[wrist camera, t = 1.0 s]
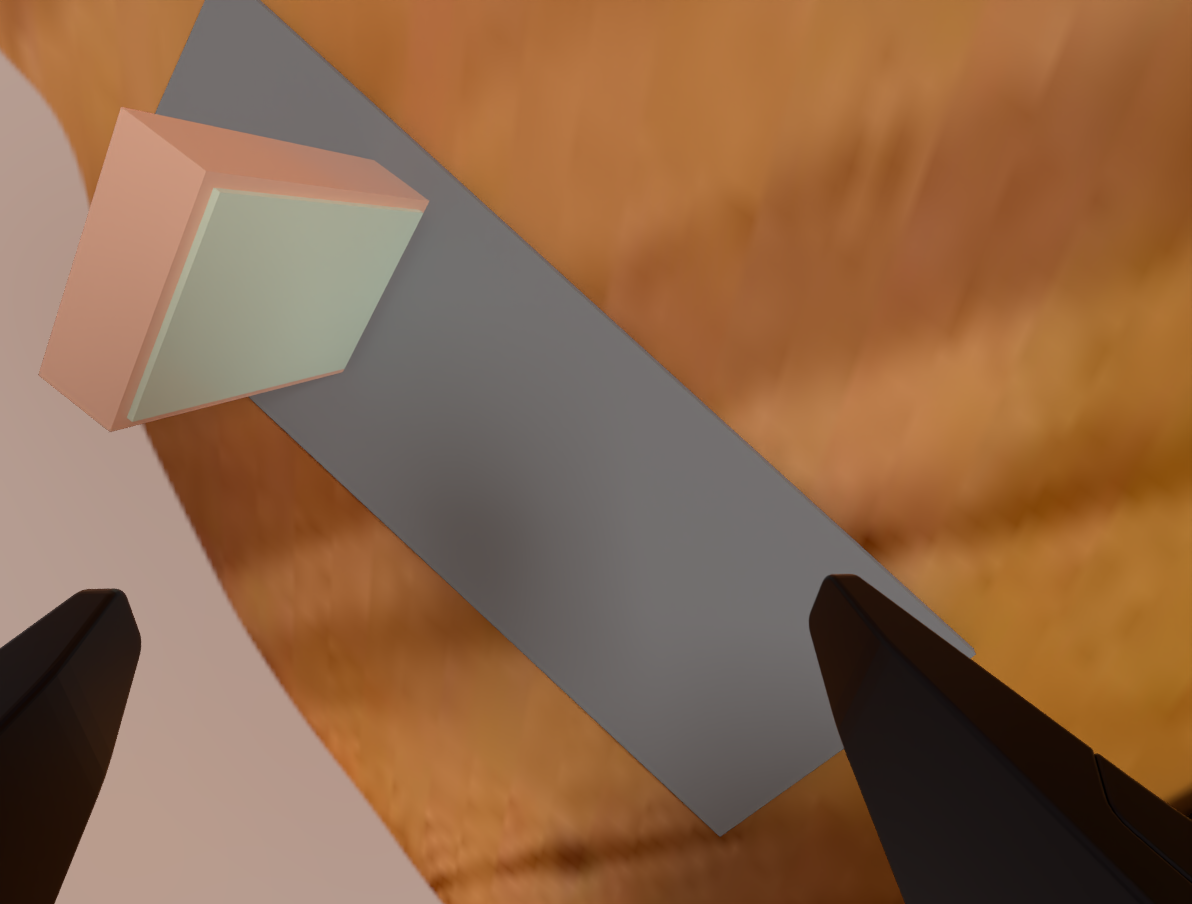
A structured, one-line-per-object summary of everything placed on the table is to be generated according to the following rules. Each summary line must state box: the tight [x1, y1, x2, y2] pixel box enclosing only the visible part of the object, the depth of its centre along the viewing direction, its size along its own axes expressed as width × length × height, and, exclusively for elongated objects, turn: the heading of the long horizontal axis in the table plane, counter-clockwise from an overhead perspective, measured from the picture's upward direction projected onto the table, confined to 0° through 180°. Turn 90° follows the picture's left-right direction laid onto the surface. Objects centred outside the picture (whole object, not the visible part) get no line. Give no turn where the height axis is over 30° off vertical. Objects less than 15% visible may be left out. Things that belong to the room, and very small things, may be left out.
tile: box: [39, 107, 429, 432], centre depth 17 cm, size 2×6×8 cm, turn 146°
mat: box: [155, 0, 976, 837], centre depth 22 cm, size 28×10×1 cm, turn 50°
